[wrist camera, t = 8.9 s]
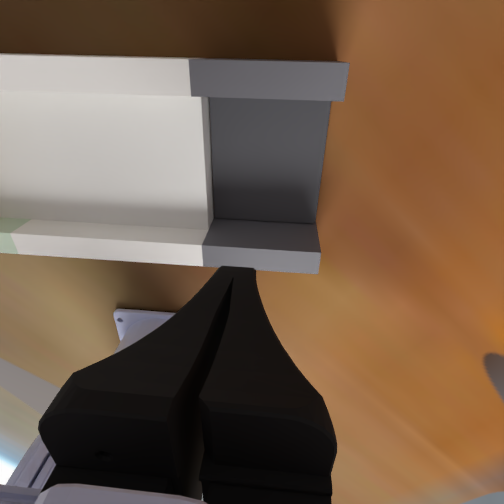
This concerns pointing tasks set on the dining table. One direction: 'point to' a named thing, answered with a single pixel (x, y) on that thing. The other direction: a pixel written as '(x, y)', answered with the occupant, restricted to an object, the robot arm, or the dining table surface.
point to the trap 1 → (267, 157)
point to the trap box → (139, 158)
